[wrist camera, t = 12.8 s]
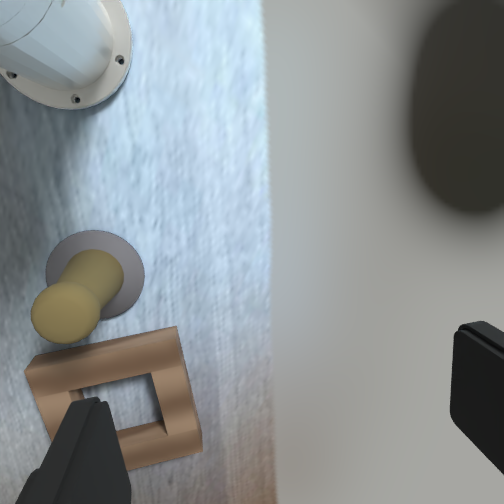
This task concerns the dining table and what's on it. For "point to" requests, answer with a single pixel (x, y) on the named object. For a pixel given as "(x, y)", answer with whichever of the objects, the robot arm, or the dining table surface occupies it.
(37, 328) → the cork
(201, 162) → the dining table surface
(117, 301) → the coaster
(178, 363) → the square frame
